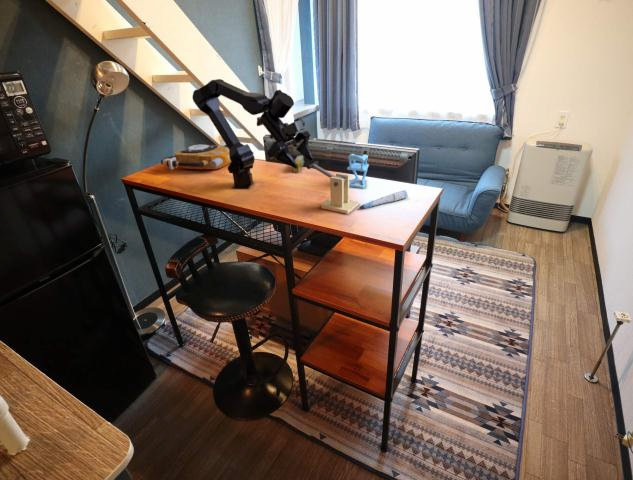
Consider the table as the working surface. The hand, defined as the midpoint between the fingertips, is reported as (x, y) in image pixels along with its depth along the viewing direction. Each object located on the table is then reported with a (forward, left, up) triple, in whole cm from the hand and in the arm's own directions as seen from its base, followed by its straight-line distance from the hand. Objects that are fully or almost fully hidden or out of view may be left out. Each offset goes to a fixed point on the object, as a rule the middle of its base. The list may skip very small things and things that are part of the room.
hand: (304, 163), depth 116 cm
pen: (+27, -1, -13) cm, 30 cm away
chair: (+17, +17, -13) cm, 27 cm away
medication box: (-10, +34, -13) cm, 37 cm away
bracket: (+12, -5, -13) cm, 19 cm away
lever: (+8, -3, -3) cm, 9 cm away
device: (-56, +34, -13) cm, 66 cm away
